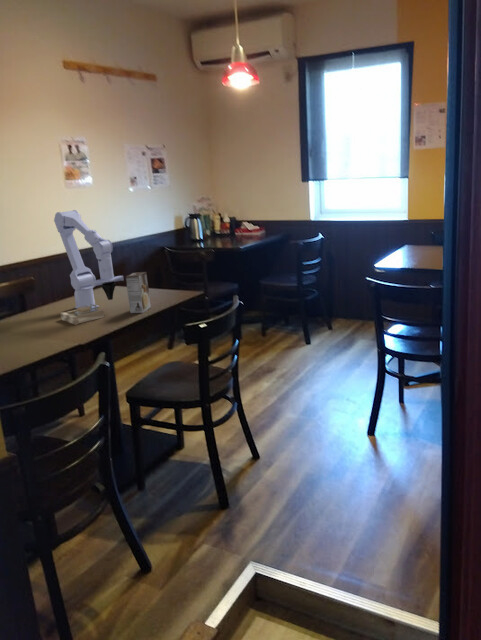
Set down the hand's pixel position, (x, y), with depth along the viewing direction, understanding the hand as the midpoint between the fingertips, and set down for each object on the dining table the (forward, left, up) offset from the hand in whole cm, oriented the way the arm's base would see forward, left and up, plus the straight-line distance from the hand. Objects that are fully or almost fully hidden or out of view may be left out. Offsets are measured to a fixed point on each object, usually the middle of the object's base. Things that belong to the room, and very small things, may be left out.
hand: (110, 299), depth 244 cm
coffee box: (+10, +9, -6) cm, 14 cm away
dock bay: (0, -13, -5) cm, 14 cm away
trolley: (0, -12, -5) cm, 13 cm away
